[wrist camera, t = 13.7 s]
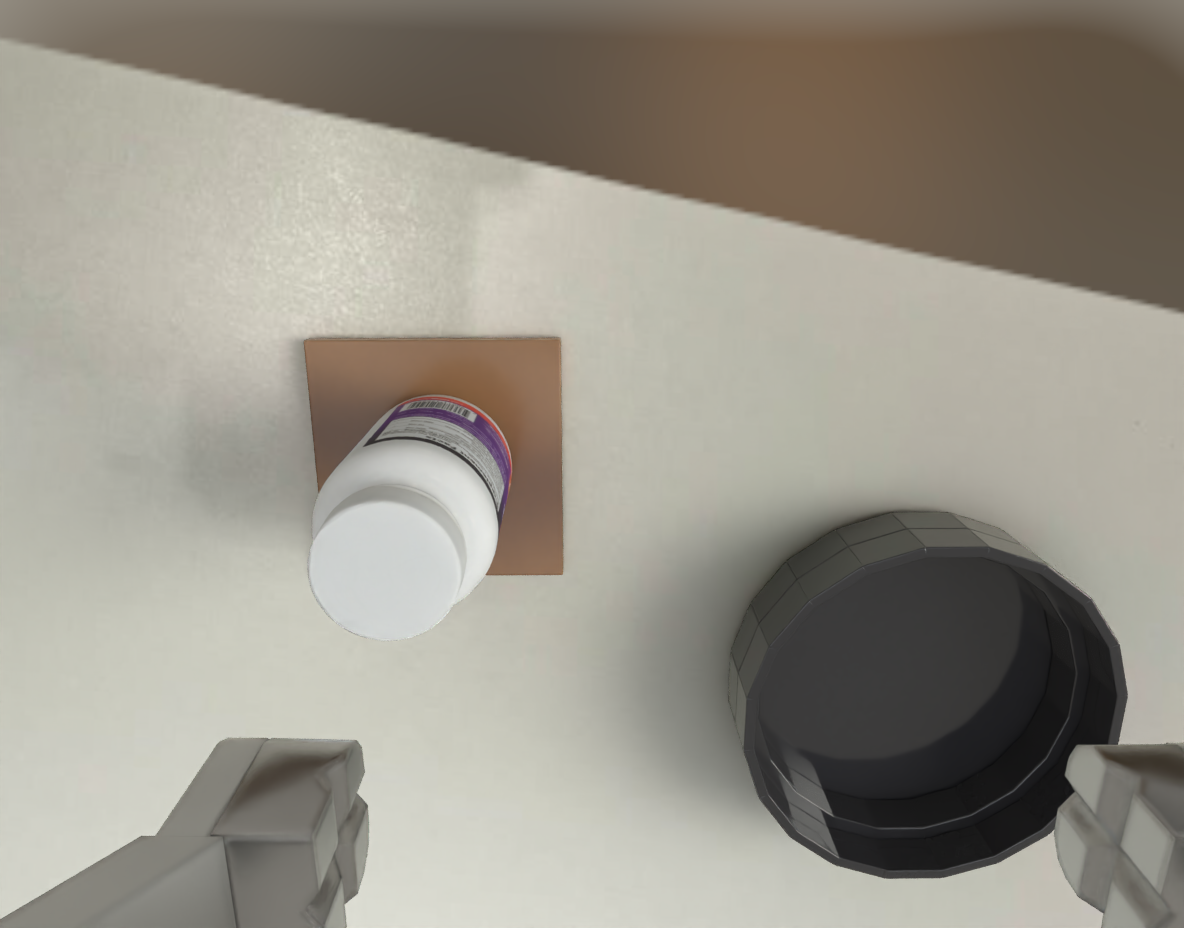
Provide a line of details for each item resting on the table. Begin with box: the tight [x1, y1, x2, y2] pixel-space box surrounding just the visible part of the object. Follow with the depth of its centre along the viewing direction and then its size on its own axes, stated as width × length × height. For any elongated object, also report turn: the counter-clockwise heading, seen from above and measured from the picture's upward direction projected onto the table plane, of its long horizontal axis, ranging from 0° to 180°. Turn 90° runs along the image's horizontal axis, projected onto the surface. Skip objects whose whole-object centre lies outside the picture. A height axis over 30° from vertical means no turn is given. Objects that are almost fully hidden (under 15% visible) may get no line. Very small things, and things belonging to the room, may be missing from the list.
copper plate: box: [304, 338, 563, 575], centre depth 32 cm, size 9×9×1 cm
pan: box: [728, 512, 1128, 879], centre depth 33 cm, size 14×14×4 cm
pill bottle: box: [308, 395, 512, 641], centre depth 27 cm, size 5×5×10 cm
